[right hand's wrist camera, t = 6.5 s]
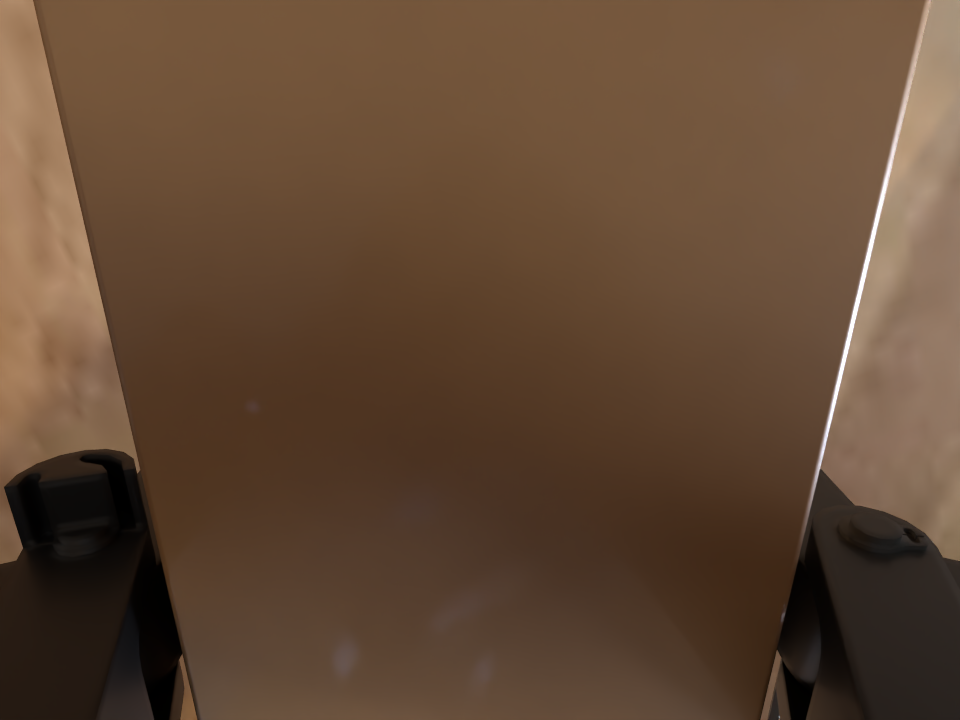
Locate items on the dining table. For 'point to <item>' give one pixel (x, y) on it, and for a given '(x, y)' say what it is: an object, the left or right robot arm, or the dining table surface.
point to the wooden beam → (480, 332)
